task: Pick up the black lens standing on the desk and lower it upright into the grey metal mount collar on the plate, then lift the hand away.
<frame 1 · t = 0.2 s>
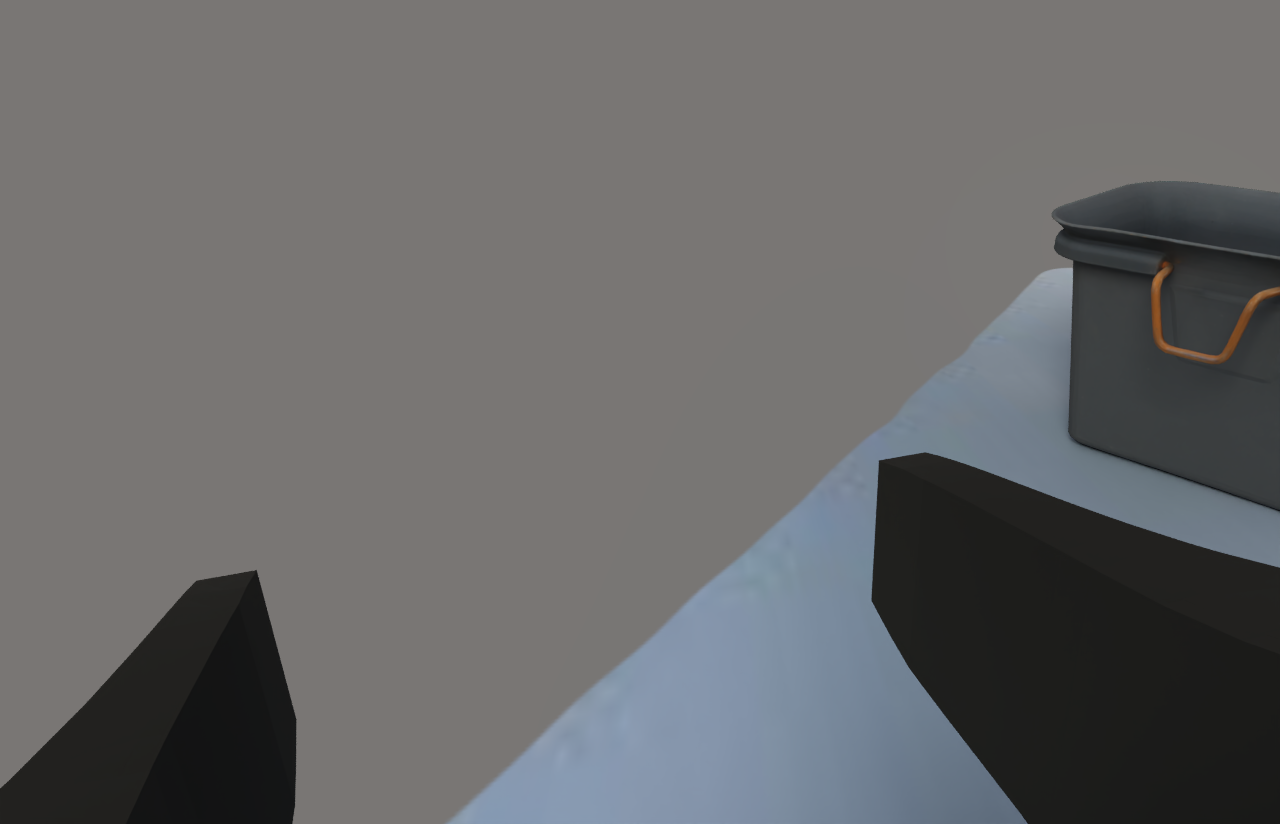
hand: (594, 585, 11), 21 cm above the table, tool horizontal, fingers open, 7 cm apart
storage bin: (1231, 476, 55), on the table
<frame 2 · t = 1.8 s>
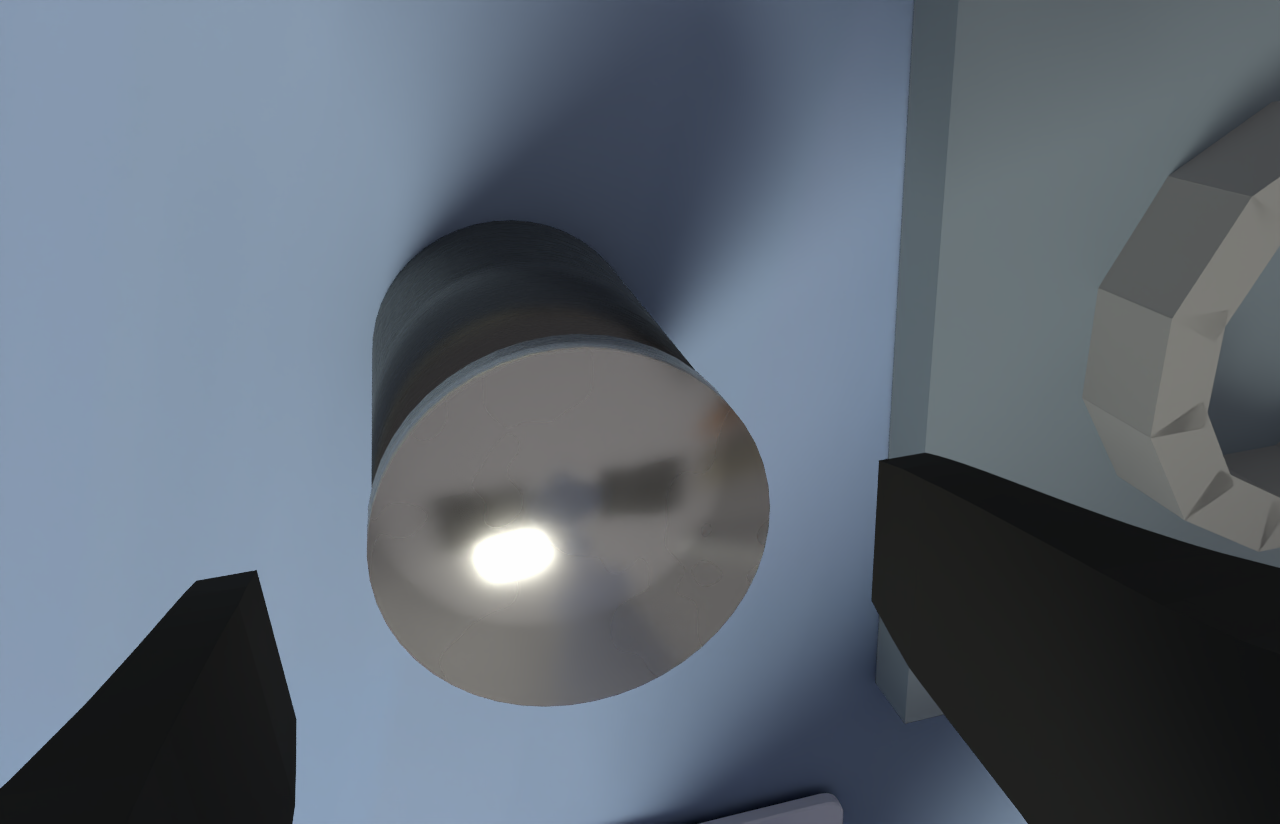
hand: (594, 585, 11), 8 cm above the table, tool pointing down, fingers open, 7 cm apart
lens: (509, 351, 18), on the table
mount plate: (1219, 294, 22), on the table
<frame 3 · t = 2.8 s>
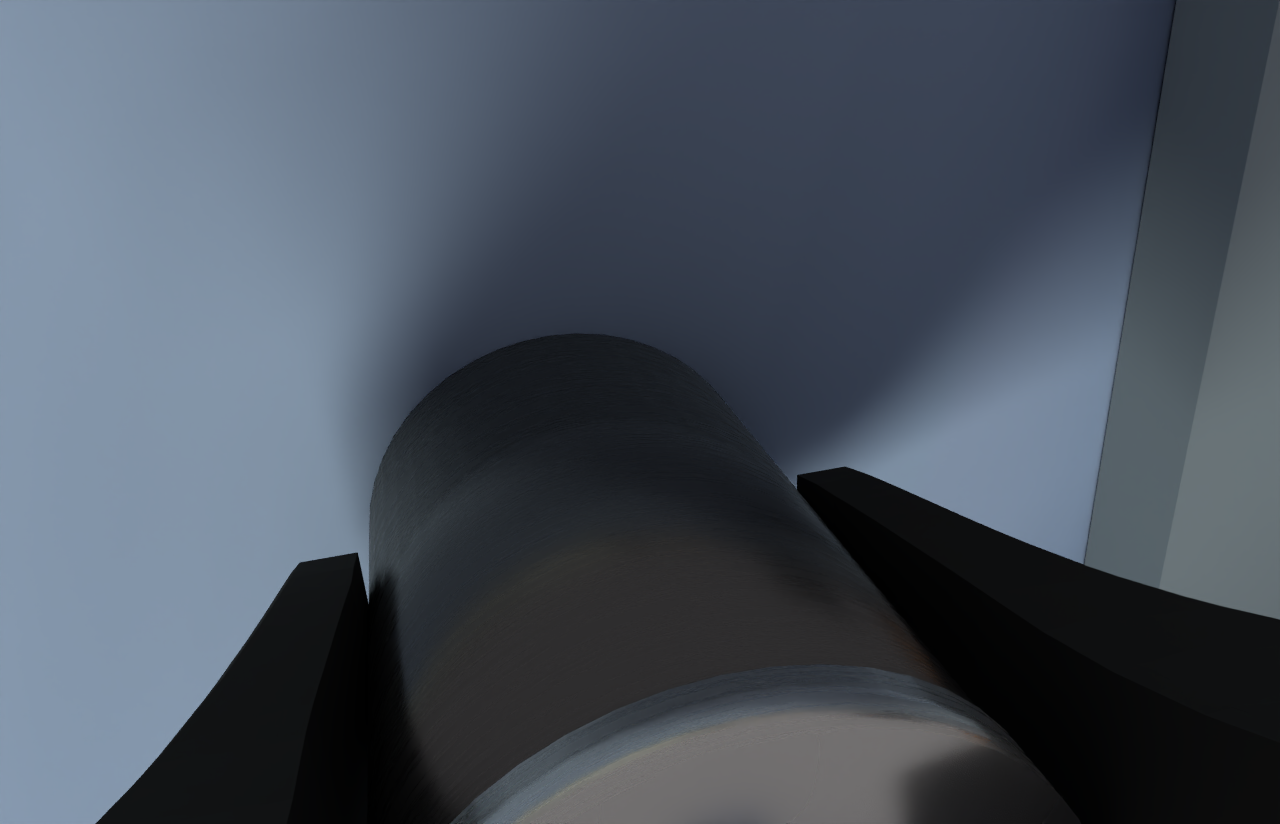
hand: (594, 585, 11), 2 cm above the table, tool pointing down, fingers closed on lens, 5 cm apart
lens: (569, 516, 13), on the table, touching gripper
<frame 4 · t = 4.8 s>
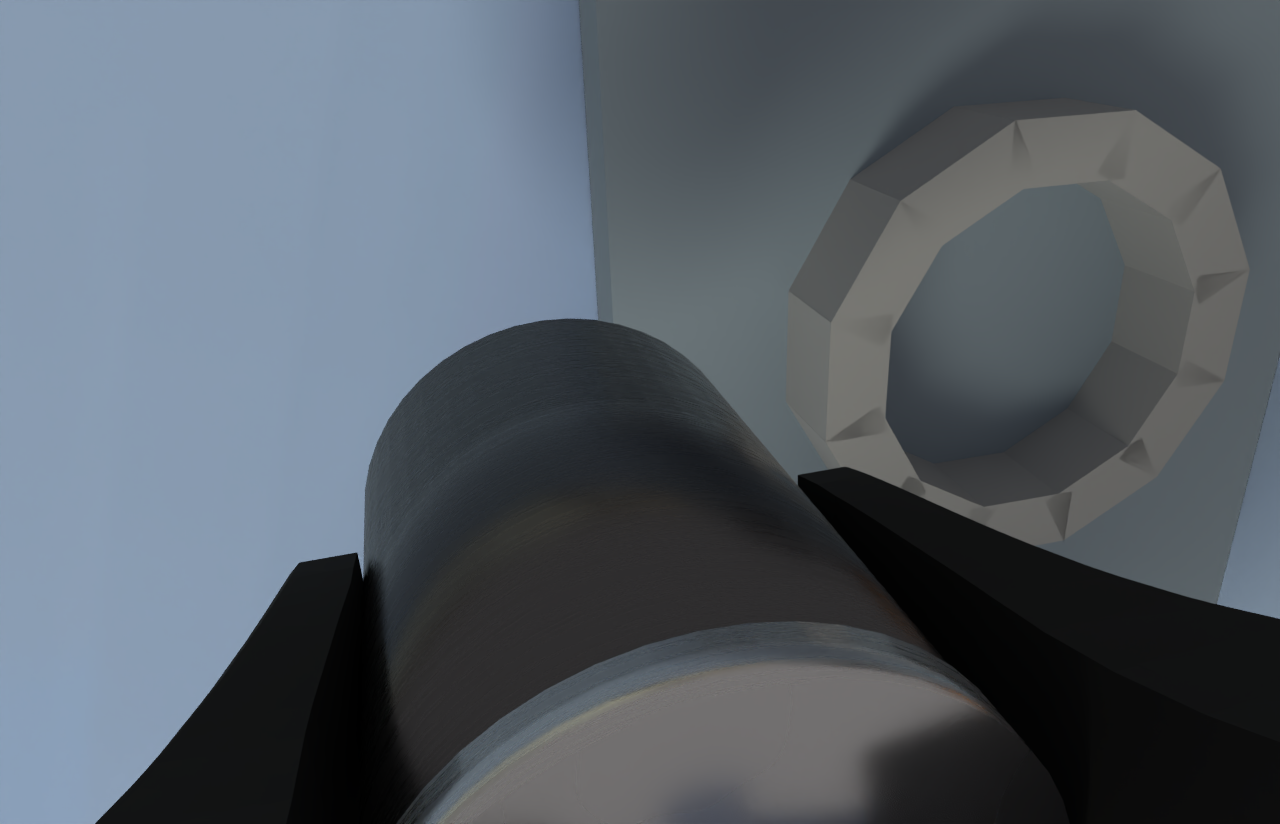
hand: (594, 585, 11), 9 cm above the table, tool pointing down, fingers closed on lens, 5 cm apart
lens: (561, 500, 13), point 8 cm above the table, touching gripper
mount plate: (947, 300, 22), on the table
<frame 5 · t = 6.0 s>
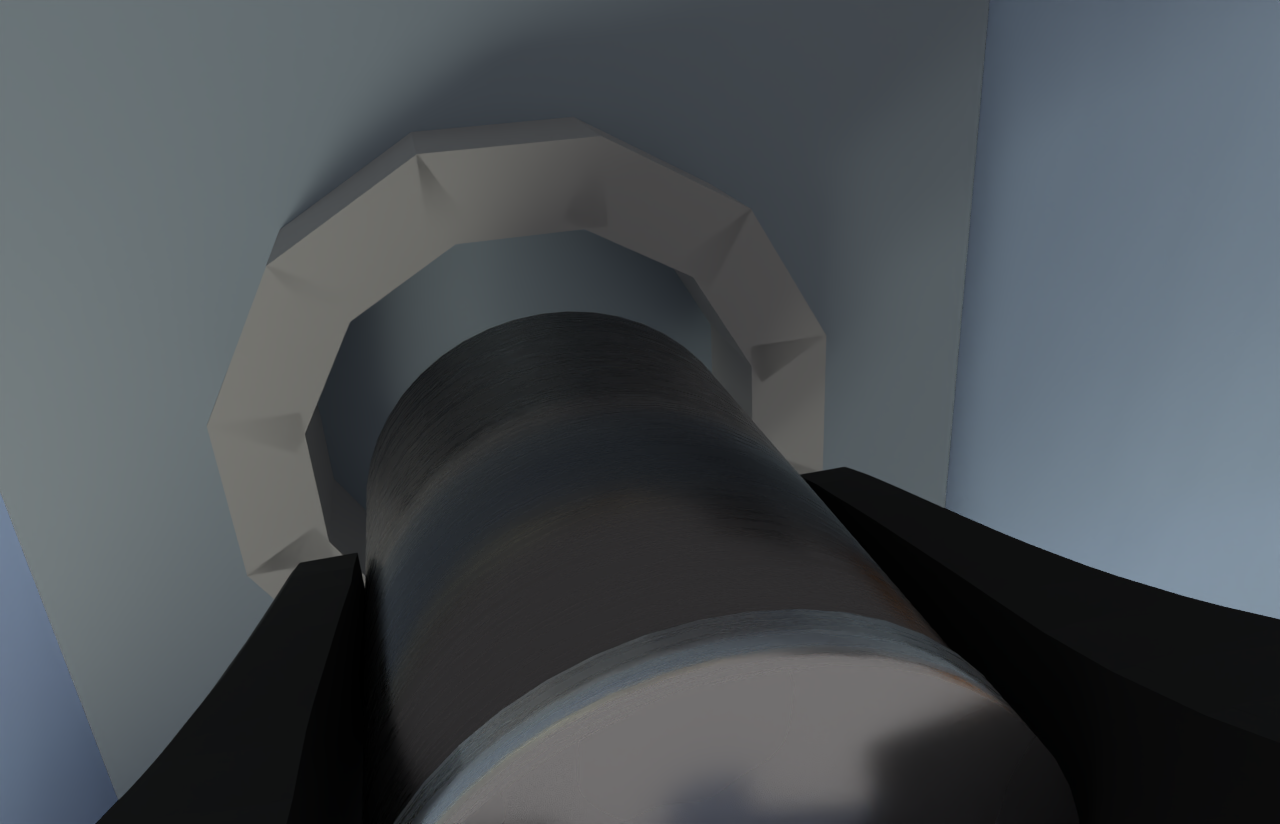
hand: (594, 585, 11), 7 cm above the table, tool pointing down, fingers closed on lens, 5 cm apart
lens: (563, 493, 13), point 5 cm above the table, touching gripper
mount plate: (513, 368, 17), on the table
when the fingers open (5 cm above the table, at t = 7.0 s): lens drops 1 cm, resting on mount plate.
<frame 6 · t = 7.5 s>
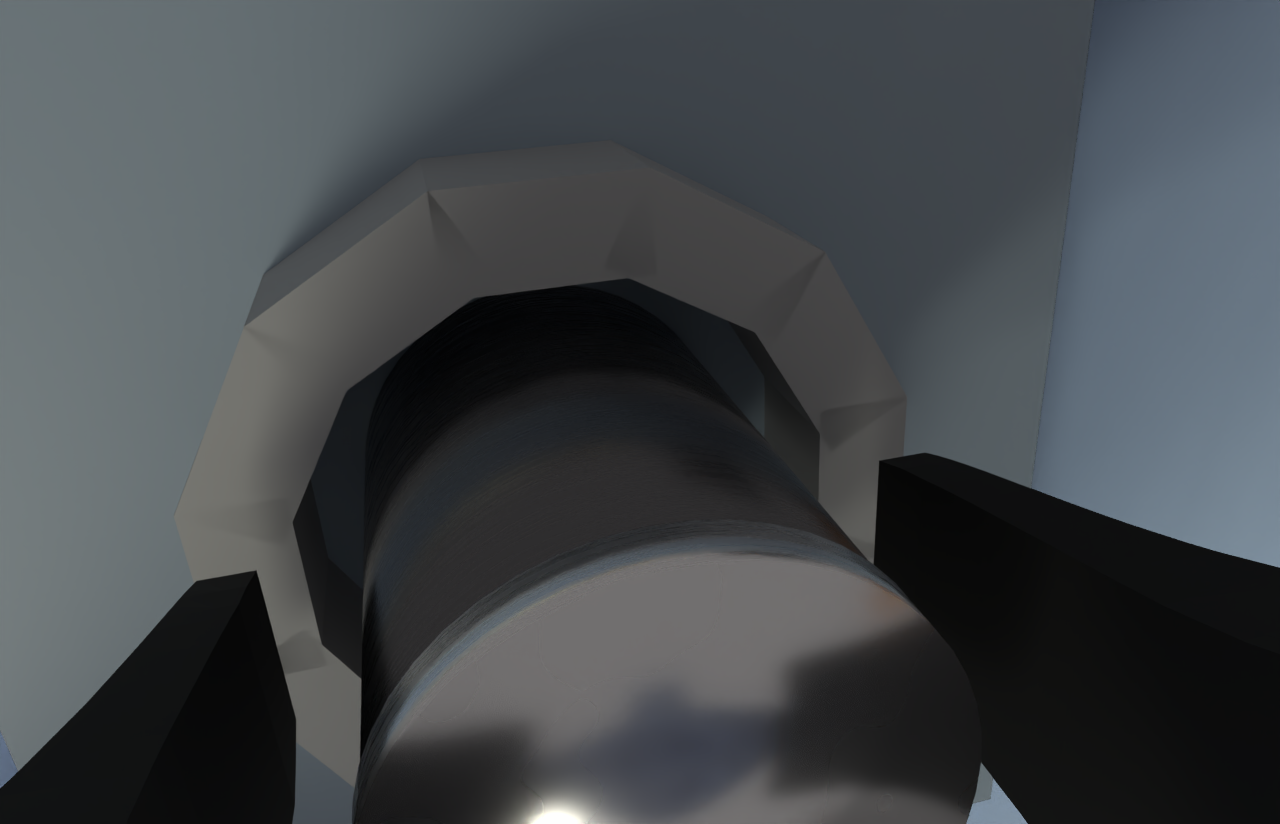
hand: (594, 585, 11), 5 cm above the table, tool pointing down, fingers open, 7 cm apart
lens: (547, 453, 14), point 1 cm above the table, touching mount plate
mount plate: (535, 423, 15), on the table
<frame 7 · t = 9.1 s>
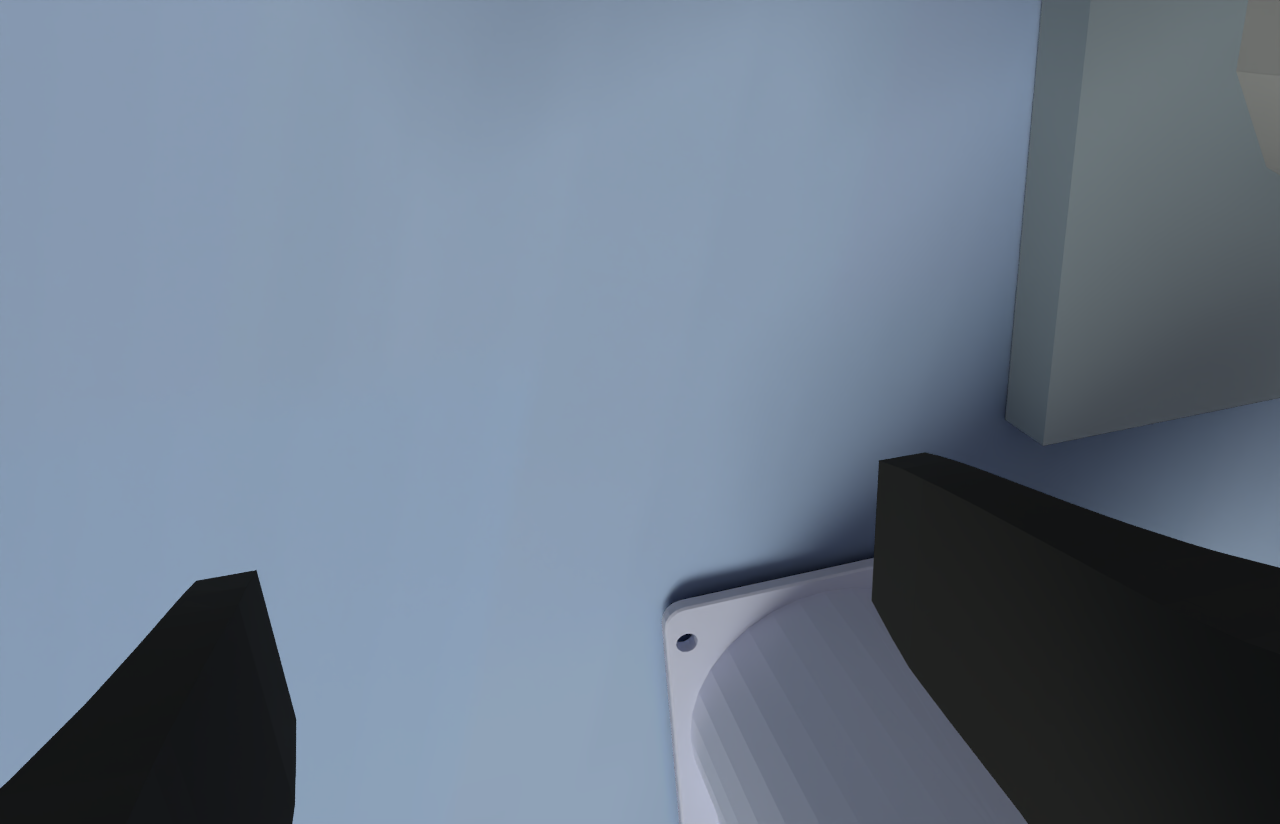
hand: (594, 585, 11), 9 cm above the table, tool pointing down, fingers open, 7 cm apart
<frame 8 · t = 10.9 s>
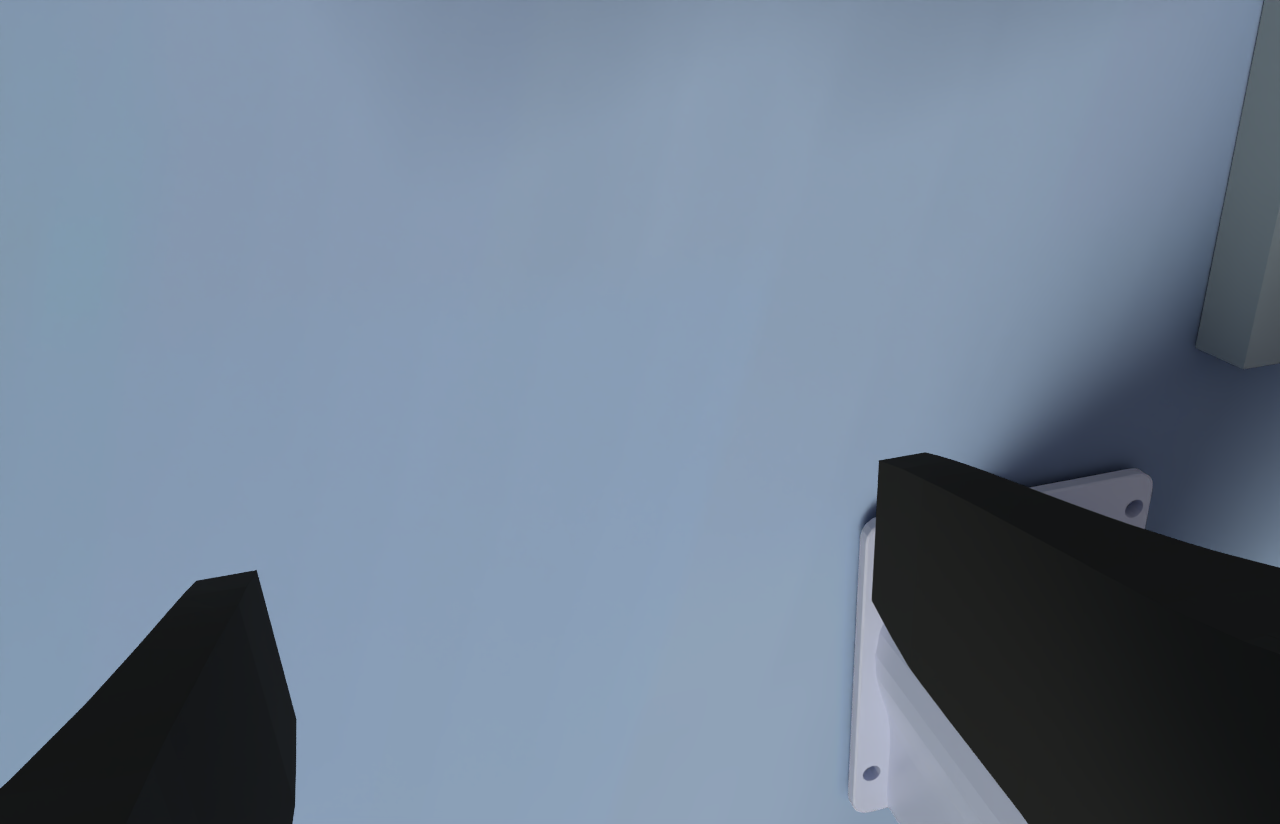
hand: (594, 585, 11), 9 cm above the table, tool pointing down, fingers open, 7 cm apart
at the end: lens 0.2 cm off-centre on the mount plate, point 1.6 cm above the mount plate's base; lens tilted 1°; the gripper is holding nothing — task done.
